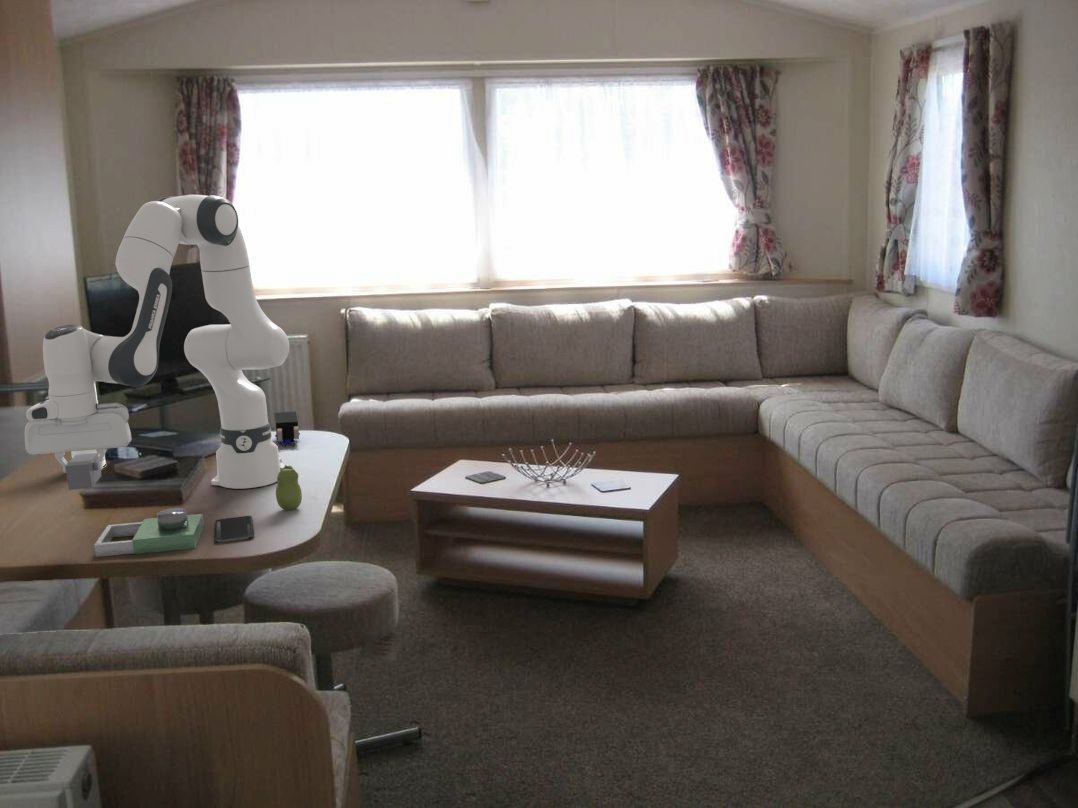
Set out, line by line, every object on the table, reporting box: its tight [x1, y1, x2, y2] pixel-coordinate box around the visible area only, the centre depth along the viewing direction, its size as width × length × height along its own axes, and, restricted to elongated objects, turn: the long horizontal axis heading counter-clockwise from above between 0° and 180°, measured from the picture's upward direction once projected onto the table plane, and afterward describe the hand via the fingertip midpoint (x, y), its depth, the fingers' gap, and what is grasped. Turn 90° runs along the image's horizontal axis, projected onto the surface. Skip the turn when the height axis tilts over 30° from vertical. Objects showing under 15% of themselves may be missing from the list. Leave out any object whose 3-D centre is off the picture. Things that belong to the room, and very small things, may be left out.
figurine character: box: [273, 411, 301, 447], centre depth 313 cm, size 7×8×15 cm
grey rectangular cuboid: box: [65, 453, 102, 491], centre depth 231 cm, size 9×4×5 cm, turn 10°
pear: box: [275, 464, 303, 511], centre depth 250 cm, size 6×5×10 cm
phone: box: [214, 515, 255, 545], centre depth 238 cm, size 8×1×15 cm
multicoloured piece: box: [93, 507, 205, 558], centre depth 233 cm, size 14×20×6 cm
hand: (83, 470), depth 231 cm, fingers closed on grey rectangular cuboid, 4 cm apart
